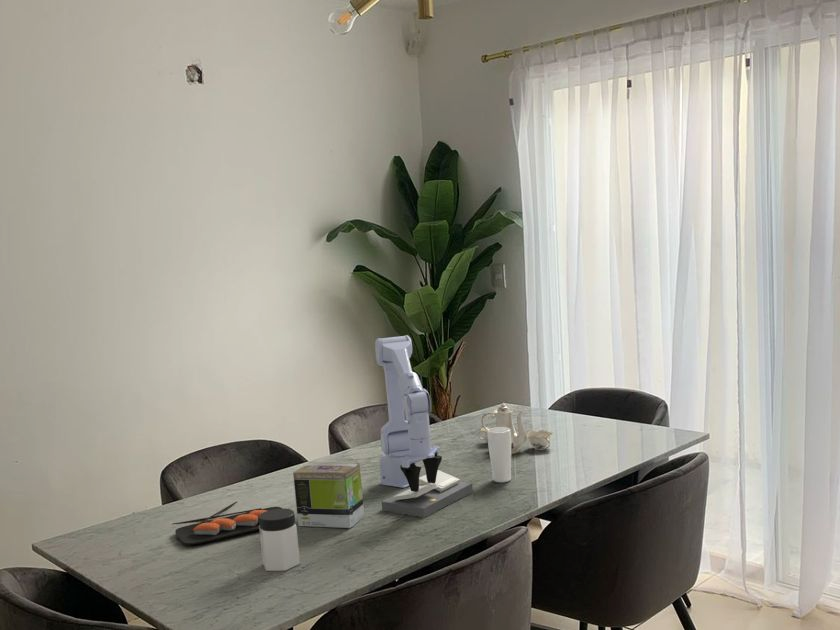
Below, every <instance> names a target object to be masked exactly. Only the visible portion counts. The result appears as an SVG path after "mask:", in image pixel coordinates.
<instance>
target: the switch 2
mask: <svg viewBox="0 0 840 630" xmlns="http://www.w3.org/2000/svg"><path fill="white" fill-rule="evenodd" d="M460 482H461V479H460V478H457V477H455V476H453V475H451V474H448V473H446V472H444V471H441V470H440V469H438V471H437V476H436V482H435V483H434V484H436V485H437V488H435V489H436V490H438V491H440V492H442V491H444V490H446V489H448V488H450V487H452V486H454V485H456V484H458V483H460ZM419 483H422V484H424V485H430V484H433V483H428V481H427V477H426V474H424V475H422V476H419Z"/></svg>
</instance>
